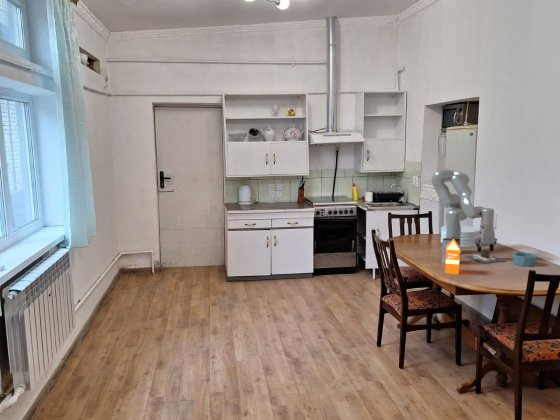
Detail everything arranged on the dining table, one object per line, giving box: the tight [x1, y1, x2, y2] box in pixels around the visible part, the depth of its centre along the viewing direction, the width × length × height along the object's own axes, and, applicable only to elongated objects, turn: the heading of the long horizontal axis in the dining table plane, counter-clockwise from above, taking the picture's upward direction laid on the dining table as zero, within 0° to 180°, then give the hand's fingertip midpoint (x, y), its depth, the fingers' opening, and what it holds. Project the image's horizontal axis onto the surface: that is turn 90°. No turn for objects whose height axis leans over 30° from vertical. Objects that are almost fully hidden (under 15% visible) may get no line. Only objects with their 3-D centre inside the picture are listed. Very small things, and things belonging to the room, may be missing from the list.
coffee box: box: [441, 237, 461, 264], centre depth 296 cm, size 9×6×16 cm
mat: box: [464, 255, 507, 265], centre depth 304 cm, size 18×18×1 cm
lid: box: [472, 248, 498, 261], centre depth 303 cm, size 15×15×6 cm
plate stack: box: [440, 224, 481, 248], centre depth 352 cm, size 28×28×12 cm
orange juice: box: [444, 239, 461, 275], centre depth 275 cm, size 8×9×20 cm
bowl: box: [512, 251, 537, 268], centre depth 292 cm, size 13×13×6 cm
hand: (485, 251), depth 303 cm, fingers open, 9 cm apart
